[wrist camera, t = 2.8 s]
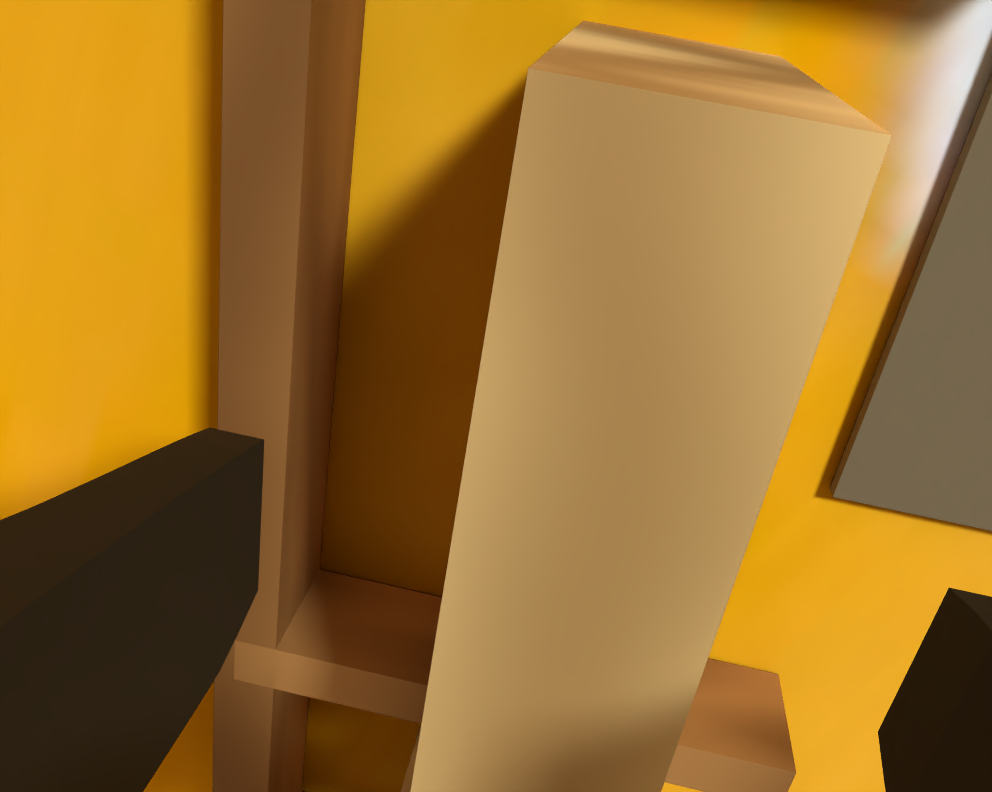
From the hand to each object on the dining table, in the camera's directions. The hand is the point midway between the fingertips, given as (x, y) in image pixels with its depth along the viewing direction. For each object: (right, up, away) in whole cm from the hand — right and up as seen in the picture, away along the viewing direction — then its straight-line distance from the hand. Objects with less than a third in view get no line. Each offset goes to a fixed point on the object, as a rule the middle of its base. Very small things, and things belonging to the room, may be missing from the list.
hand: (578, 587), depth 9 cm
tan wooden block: (+1, +3, +6) cm, 7 cm away
